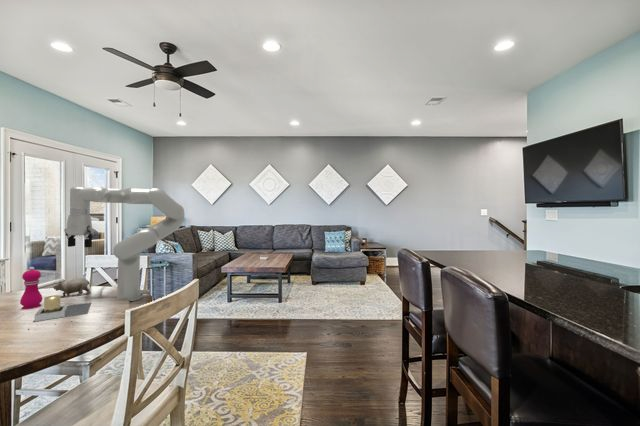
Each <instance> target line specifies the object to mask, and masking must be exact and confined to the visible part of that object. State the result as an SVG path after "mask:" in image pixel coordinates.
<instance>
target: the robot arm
mask: <svg viewBox="0 0 640 426" xmlns="http://www.w3.org/2000/svg"><path fill="white" fill-rule="evenodd" d="M69 190H70V191H69V215H68V217H67V222H66V228H65V229H64V230H63V231H64V233H65V236H66V239H67V247H69V248H70V247H75V246H76V238H75V237H76V236H83V237H84V248H92V246H93V239H94V236H96V231H97V230H96V229H94V228H93V223H92V217H91V203H92V202H94V203H103V204H104V203H105V204H106V203H107V204H109V203H110V204H112V203H113V204H119V203H120V204H129V205H153V206H154V207H155V209H157V210H159V211H160V212H161V213H163V215H165V216H166V217H165V218H164V219H162V220H161V221H159V222H156V224H153V225H151V226H149V227H146V228H143V229H141V230H139V231H137V232H136V233H133V234H131V235H130V236H129V237H126V238H124V239H122V240H121V241H119V242H117V243H116V244H115V246H114V247H113V255H114V256H115V258H116V259H117V284H116V286H117V287H116V288H117V293H116V294H117V296H116V298H117V299H118V300H128V302H129V303H131V302H130V301H132V302H136V301H139V300H141V299H142V298H144V297H143V295H147V294H150V289H141V287H140V275H141V274H140V270H141V269H140V267H141V264H140V262H141V253H143V252H145V251H146V250H148V249H150V248H153V246H155V245H156V244H157V243H158V242H159V241H162V240H163V239H164V238H166V237H168V236H170V235H171V234H173V233H174V232H176V231H177V230H178V229H179V228H180V227H181V226H182V225H183V222H184V221H185V208H184V207H183V206H182V205H181V204H179V203H178V202H177V201H175V200H174V199H173V198H172V197H171V196H170V195H169V194H167V192H166V191H165V190H163V189H162V188H160V187H153V188H147V187H145V188H144V187H128V188H105V187H100V186H93V187H92V186H91V187H87V186H86V187H85V186H84V187H83V186H71V187H70V189H69Z"/></svg>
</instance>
